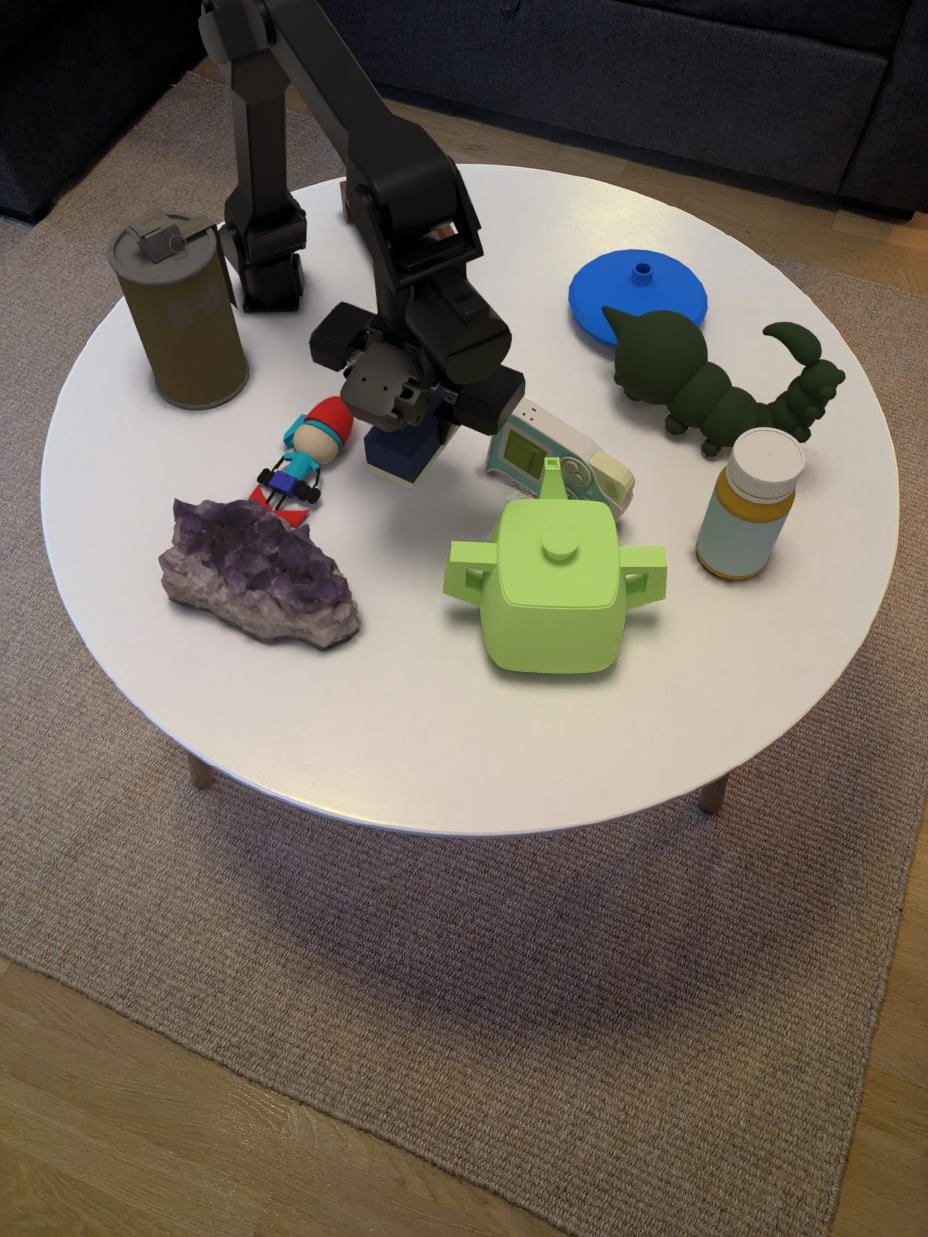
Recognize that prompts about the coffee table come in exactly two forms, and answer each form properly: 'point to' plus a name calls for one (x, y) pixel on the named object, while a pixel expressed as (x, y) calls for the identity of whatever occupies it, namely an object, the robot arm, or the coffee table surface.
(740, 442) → the bottle
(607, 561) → the teapot
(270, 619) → the geode
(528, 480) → the handheld gaming console
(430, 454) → the dark blue rectangular block
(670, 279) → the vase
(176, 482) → the coffee table surface
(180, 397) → the canister
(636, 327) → the green caterpillar figure
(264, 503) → the toy figure
